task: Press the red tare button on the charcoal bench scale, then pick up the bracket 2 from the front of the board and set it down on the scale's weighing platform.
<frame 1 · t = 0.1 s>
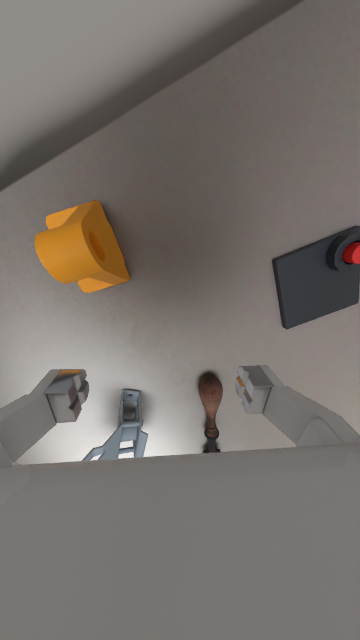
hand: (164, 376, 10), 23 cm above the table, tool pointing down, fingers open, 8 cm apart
bracket: (127, 408, 43), on the table
tare button: (356, 253, 28), point 3 cm above the table, slide at 0.1 cm
chisel: (209, 431, 49), on the table
bracket 2: (96, 250, 28), on the table
scale: (315, 281, 33), on the table
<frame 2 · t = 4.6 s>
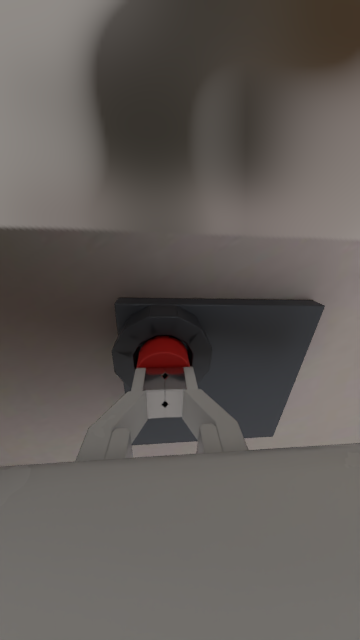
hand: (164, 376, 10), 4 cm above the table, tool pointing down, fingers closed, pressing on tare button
tare button: (163, 365, 11), point 3 cm above the table, slide at 0.0 cm, touching gripper
scale: (209, 376, 16), on the table
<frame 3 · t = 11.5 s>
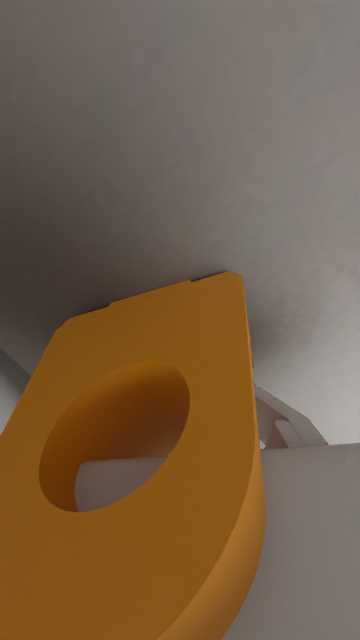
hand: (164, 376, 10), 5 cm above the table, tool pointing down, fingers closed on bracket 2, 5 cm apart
bracket 2: (165, 333, 14), on the table, touching gripper
when the fingers open (6 cm above the table, at t = 20.5 s): bracket 2 stays where it is, resting on scale.
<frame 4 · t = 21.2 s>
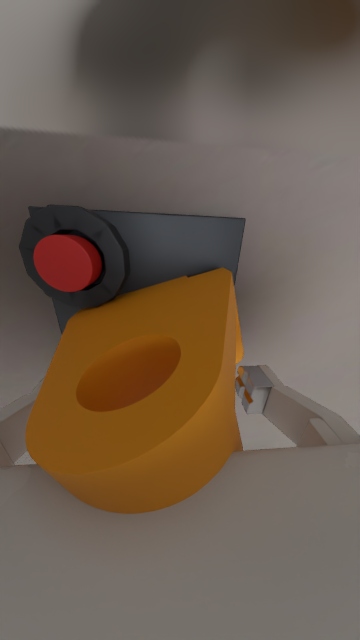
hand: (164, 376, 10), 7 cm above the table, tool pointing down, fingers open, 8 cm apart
tare button: (71, 263, 11), point 3 cm above the table, slide at 0.1 cm
bracket 2: (165, 325, 15), point 1 cm above the table, touching scale
scale: (147, 306, 16), on the table
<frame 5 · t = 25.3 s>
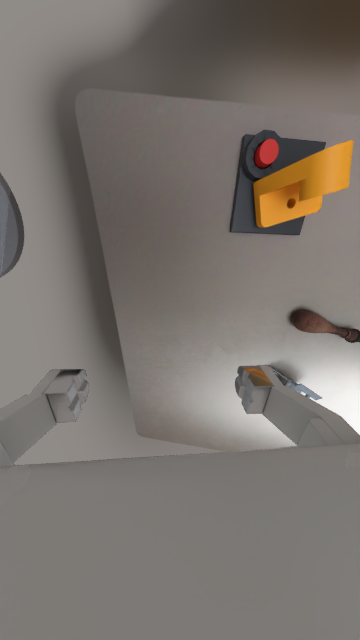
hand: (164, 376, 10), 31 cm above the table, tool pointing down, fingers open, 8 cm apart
bracket: (276, 378, 54), on the table
tare button: (266, 153, 28), point 3 cm above the table, slide at 0.1 cm
chisel: (352, 334, 49), on the table
bracket 2: (281, 199, 33), point 1 cm above the table, touching scale
scale: (271, 191, 33), on the table
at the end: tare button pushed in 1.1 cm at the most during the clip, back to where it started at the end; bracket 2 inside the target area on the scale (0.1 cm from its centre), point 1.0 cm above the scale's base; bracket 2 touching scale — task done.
